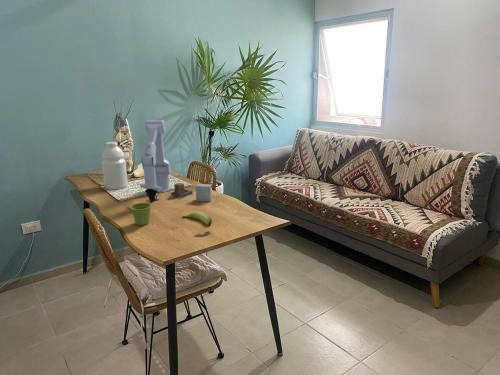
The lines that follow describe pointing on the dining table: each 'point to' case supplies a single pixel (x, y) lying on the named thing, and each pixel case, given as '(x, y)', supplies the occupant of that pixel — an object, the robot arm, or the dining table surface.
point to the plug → (179, 189)
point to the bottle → (114, 167)
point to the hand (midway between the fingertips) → (152, 202)
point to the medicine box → (203, 192)
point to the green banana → (201, 217)
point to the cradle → (187, 192)
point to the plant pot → (141, 213)
